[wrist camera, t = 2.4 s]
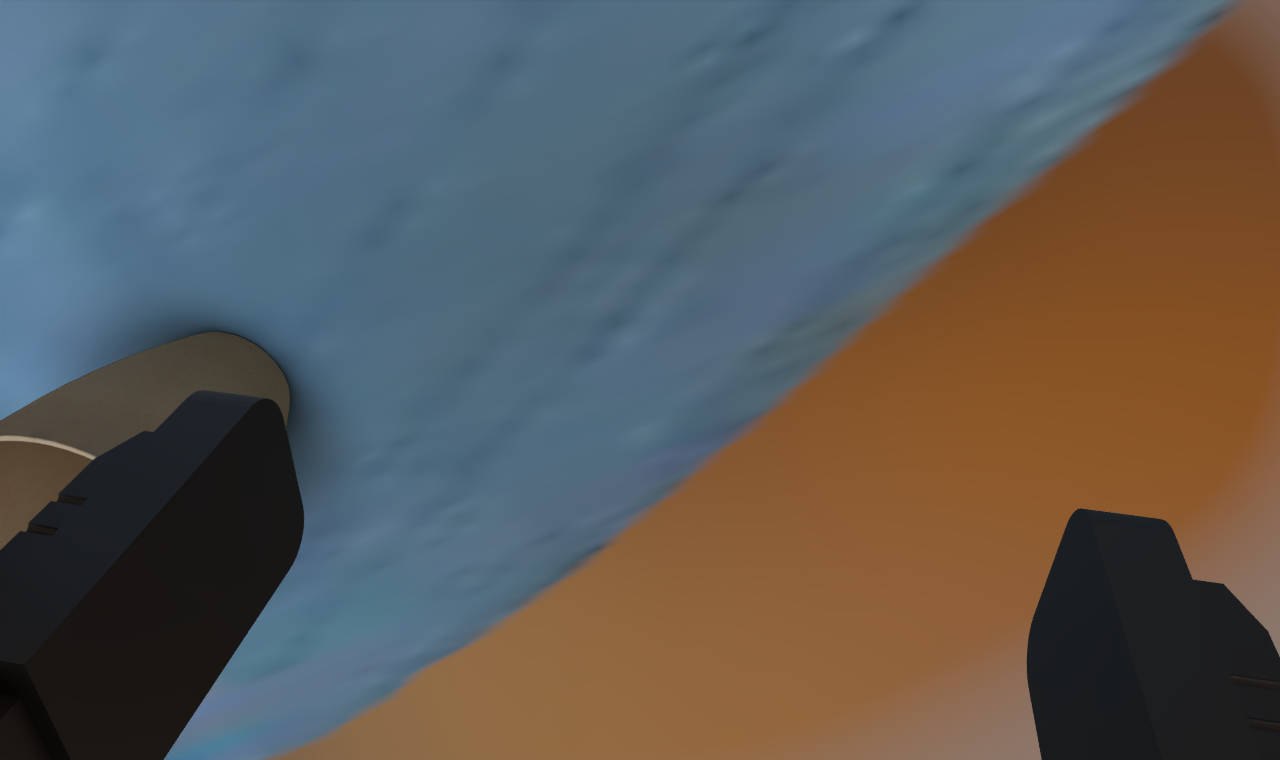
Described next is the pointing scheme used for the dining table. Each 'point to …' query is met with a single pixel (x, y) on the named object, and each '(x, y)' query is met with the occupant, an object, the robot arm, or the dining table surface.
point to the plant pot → (118, 414)
